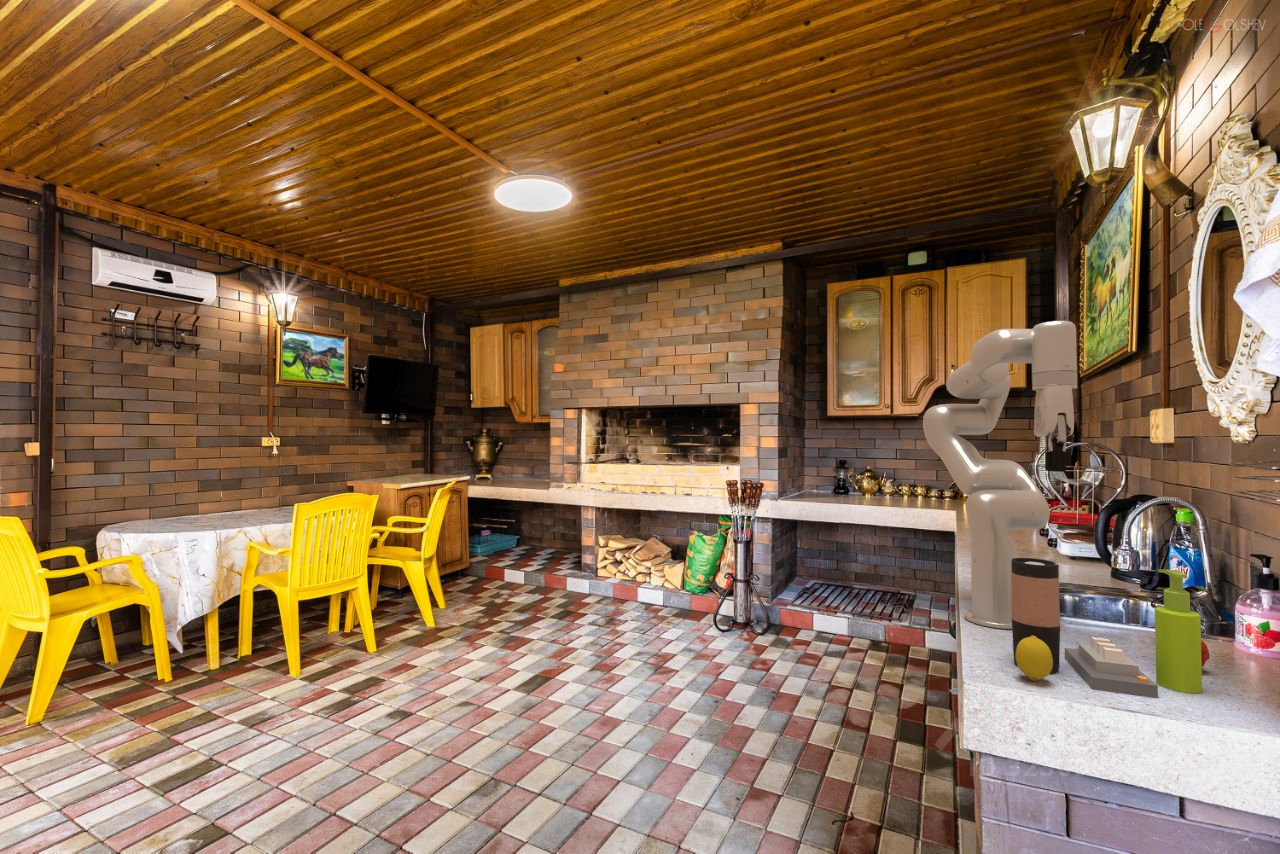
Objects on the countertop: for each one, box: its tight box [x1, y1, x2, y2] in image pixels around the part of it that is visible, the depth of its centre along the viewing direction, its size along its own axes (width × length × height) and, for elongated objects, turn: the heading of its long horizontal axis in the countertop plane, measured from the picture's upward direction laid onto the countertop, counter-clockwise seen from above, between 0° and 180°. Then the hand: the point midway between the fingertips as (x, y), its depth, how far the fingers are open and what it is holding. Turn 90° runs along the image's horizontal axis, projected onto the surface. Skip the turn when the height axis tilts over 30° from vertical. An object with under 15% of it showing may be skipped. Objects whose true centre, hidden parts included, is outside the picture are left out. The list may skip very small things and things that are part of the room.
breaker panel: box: [1063, 636, 1159, 699], centre depth 105 cm, size 16×9×6 cm, turn 157°
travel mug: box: [1011, 557, 1061, 675], centre depth 110 cm, size 8×8×20 cm
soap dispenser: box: [1154, 568, 1203, 694], centre depth 102 cm, size 6×7×20 cm
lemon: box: [1015, 636, 1053, 682], centre depth 103 cm, size 6×6×8 cm
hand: (1055, 471), depth 118 cm, fingers closed
